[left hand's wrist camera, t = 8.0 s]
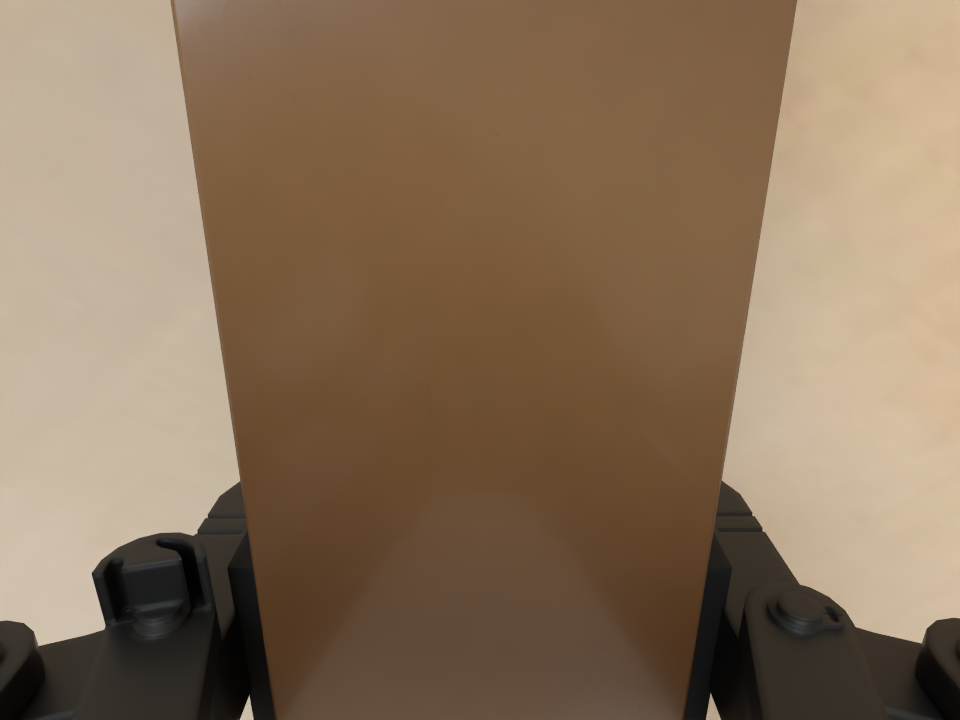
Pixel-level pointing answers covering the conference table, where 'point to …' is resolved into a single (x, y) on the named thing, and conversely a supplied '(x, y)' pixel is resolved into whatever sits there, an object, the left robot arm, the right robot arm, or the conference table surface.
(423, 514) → the beam
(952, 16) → the conference table surface
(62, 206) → the conference table surface
